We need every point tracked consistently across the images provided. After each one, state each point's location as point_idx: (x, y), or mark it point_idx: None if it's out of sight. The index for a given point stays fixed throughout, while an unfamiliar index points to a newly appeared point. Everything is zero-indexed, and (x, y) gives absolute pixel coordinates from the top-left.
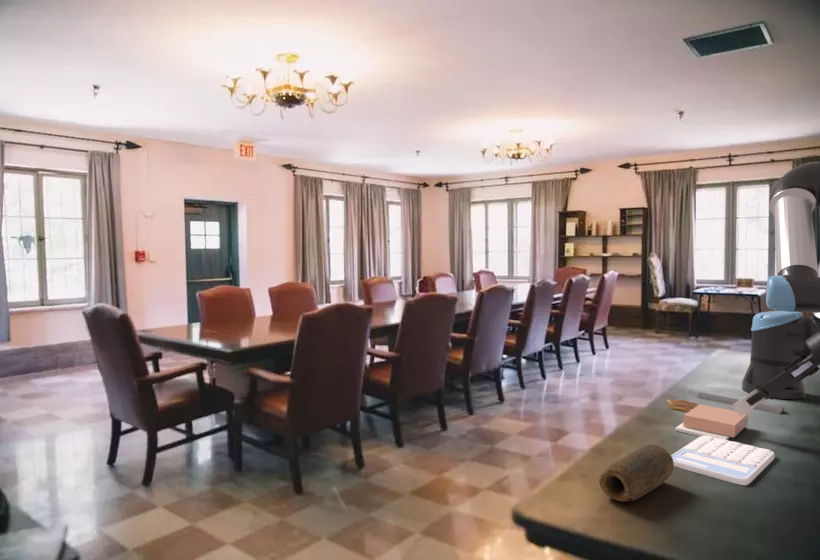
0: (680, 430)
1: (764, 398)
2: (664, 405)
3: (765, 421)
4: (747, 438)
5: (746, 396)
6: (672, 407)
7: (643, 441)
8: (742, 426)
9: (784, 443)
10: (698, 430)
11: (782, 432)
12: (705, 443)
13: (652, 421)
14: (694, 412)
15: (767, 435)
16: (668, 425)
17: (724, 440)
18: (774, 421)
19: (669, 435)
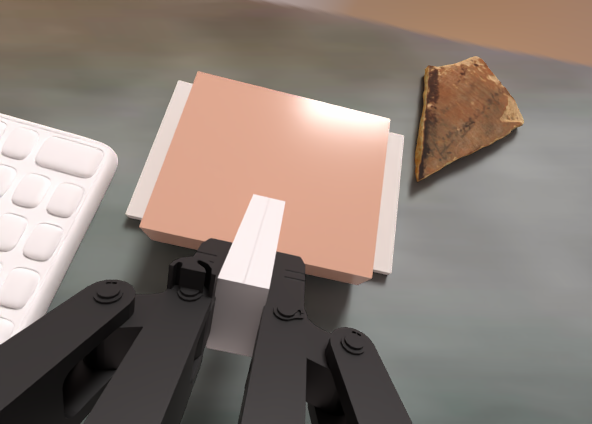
0: (174, 96)
1: (210, 333)
2: (449, 62)
3: (490, 350)
4: None
5: (235, 236)
6: (425, 76)
7: (20, 17)
8: None
9: (220, 414)
10: None
11: None
12: (2, 151)
13: (247, 35)
14: (257, 101)
15: None
16: (229, 71)
17: (53, 205)
18: (516, 383)
19: (119, 73)
